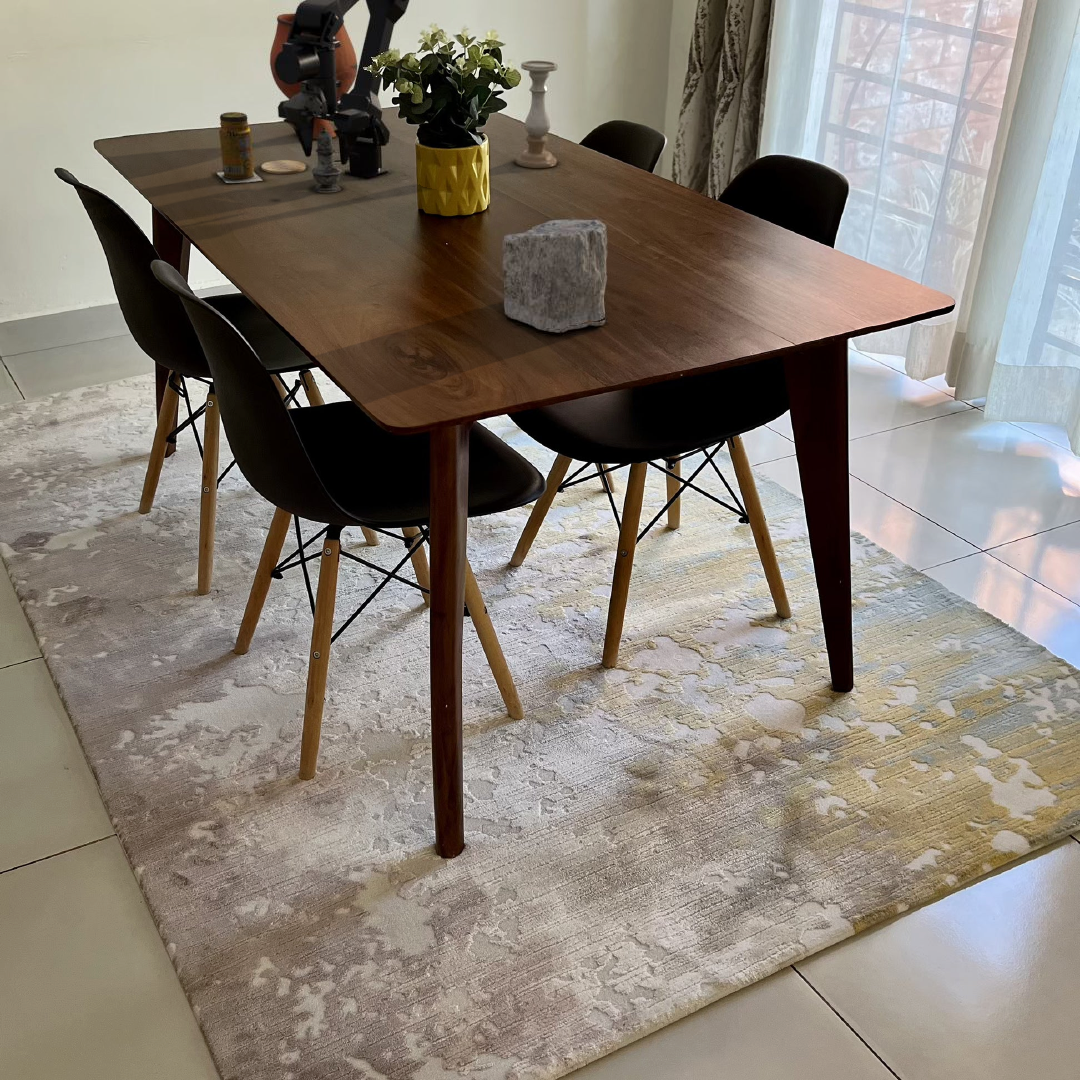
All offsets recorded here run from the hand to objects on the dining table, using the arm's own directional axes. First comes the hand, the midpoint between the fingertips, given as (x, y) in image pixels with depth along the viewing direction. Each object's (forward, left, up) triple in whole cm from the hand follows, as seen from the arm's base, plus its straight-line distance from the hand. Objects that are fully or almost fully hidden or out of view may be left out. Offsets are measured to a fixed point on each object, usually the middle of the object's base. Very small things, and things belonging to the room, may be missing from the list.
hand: (325, 160), depth 230 cm
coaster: (-6, -17, -6) cm, 19 cm away
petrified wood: (+28, +72, -6) cm, 77 cm away
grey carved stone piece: (0, 0, -6) cm, 6 cm away
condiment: (+5, -19, -6) cm, 20 cm away
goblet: (-32, -32, -6) cm, 46 cm away
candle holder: (-44, +20, -6) cm, 49 cm away
